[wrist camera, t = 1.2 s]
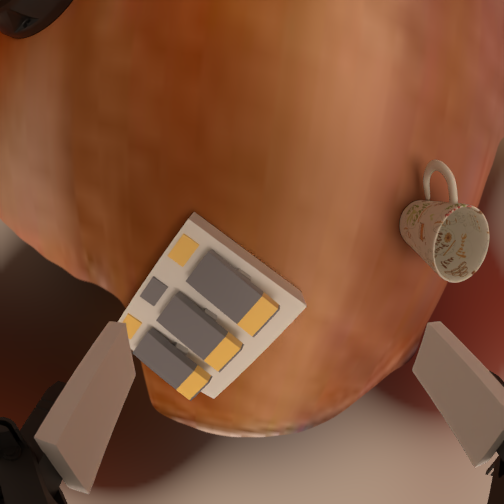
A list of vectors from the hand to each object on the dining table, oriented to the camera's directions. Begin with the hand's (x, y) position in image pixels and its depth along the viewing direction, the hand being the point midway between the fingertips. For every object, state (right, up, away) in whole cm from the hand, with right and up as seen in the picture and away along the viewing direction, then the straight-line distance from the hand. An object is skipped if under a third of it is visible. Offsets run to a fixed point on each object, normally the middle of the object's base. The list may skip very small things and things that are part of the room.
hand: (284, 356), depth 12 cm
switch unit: (-7, -3, +26) cm, 27 cm away
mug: (+19, +10, +23) cm, 32 cm away
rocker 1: (-3, 0, +19) cm, 20 cm away
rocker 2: (-7, -4, +21) cm, 22 cm away
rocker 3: (-11, -9, +22) cm, 26 cm away
